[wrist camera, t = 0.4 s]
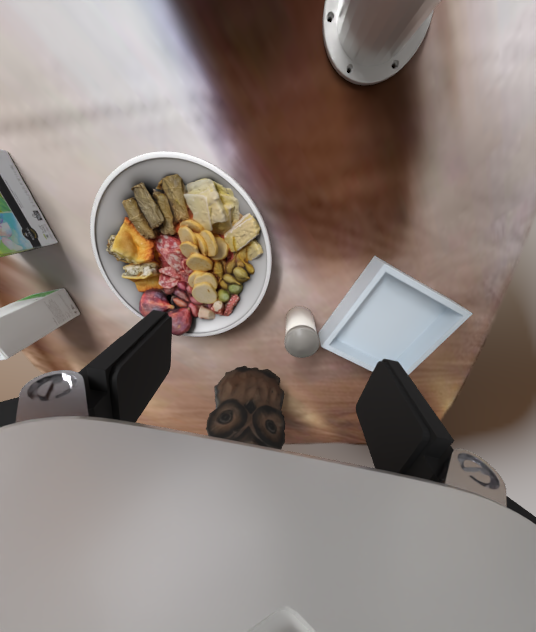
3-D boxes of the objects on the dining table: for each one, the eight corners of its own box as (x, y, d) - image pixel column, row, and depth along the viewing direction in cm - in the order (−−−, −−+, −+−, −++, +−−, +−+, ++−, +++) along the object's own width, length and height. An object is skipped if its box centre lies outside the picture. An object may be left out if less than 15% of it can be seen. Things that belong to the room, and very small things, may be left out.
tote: (374, 255, 42) (384, 263, 38) (454, 301, 45) (472, 313, 41) (318, 333, 50) (321, 346, 46) (389, 368, 53) (398, 384, 48)
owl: (218, 371, 57) (187, 453, 39) (264, 349, 53) (252, 429, 35) (248, 406, 61) (231, 493, 44) (292, 388, 58) (294, 476, 40)
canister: (294, 300, 47) (295, 323, 39) (319, 313, 48) (326, 338, 40) (280, 323, 50) (278, 348, 42) (304, 335, 51) (307, 362, 43)
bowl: (100, 135, 37) (57, 122, 30) (291, 180, 38) (291, 177, 31) (117, 307, 51) (90, 326, 44) (256, 337, 52) (251, 359, 45)
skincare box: (65, 287, 50) (-20, 324, 36) (83, 315, 52) (10, 360, 39) (31, 293, 51) (-64, 332, 37) (50, 321, 54) (-32, 366, 40)
